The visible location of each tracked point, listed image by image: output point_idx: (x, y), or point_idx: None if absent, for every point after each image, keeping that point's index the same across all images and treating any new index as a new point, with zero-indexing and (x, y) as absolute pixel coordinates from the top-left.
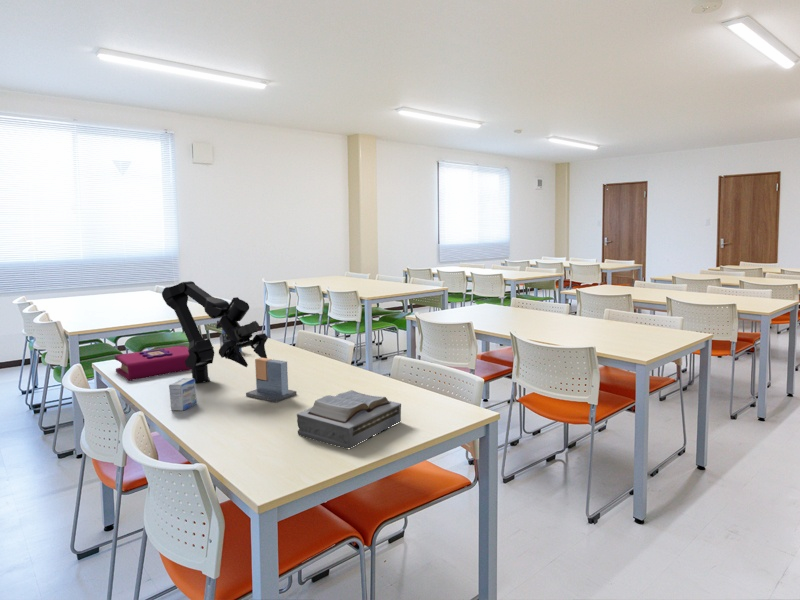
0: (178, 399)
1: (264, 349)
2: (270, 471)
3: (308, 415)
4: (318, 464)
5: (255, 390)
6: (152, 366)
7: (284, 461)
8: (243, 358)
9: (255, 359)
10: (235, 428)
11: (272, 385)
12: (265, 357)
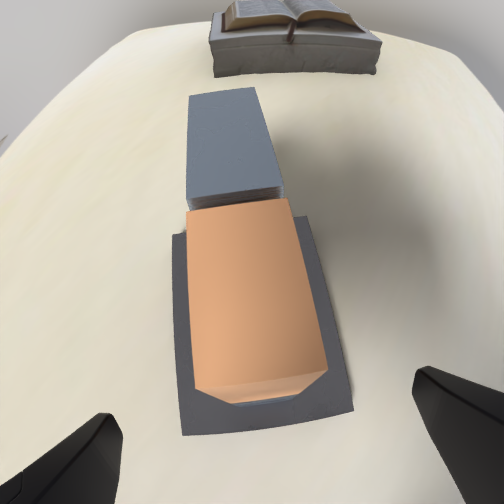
0: None
1: (11, 484)
2: (440, 63)
3: (368, 32)
4: (388, 43)
5: (291, 410)
6: None
7: (421, 61)
8: (484, 399)
9: (326, 362)
10: (474, 160)
11: None
12: (101, 430)
